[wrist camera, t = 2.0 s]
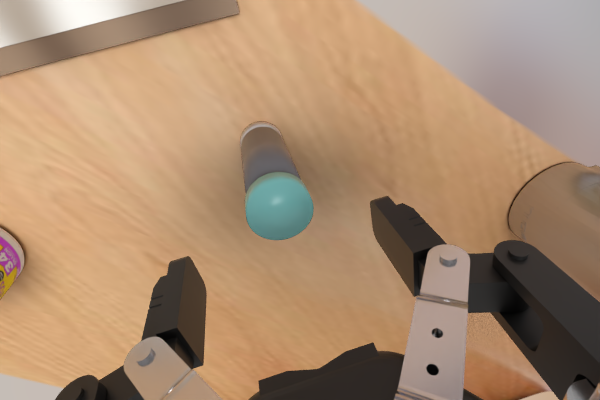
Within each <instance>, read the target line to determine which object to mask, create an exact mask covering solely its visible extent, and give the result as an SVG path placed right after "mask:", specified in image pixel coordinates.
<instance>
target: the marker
mask: <svg viewBox="0 0 600 400" xmlns="http://www.w3.org/2000/svg"><path fill="white" fill-rule="evenodd" d="M240 146H241V155H242V164H243V173H244V182H245V191H246V196H245V209H246V218H247V222H248V224H249V226H250V228H251V229H252V230H253V231H254V232H255V233H256V234H257V235H259V236H261V237H263V238H266V239H270V240H283V239H288V238H291V237H293V236H295V235H297V234H299V233H300V232H301V231H303V230H304V229H305V228H306V227H307V225H308V224H309V222H310V221H311V218H312V215H313V202H312V199H311V197H310V195H309V192H308V190H307V188H306V186H305V184H304V183H303V182H302V181H301V179H300V177H299V174H298V172H297V170H296V167H295V165H294V163H293V161H292V158H291V156H290V154H289V151H288V149H287V147H286V144H285V142H284V140H283V138H282V135H281V133H280V131H279V130H278V129H277V127H275V126H274V125H273V124H271V123H268V122H263V121H260V122H255V123H252V124H250V125H249V126H247V127H246V128H245V130H244V131H243V133H242V135H241V138H240Z"/></svg>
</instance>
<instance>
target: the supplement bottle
mask: <svg viewBox="0 0 600 400" xmlns="http://www.w3.org/2000/svg"><path fill="white" fill-rule="evenodd" d="M23 266H24V254H23V250H22V248H21V246H20V245H19V243H18V242H17V241H16V240H15V238H14V237H12V236H11V235H10V234H9V233H8V232H6V231H5V230H3V229H1V228H0V300H1V298H2V297H3V296H4V294H5V293H6V292H7V290H8V289H9V288H10V287H11V285H12V284H13V283H14V281H15V280H16V278H17V277H18V276H19V274H20V273H21V271H22V269H23Z"/></svg>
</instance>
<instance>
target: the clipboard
mask: <svg viewBox="0 0 600 400" xmlns="http://www.w3.org/2000/svg"><path fill="white" fill-rule="evenodd" d="M238 13H239V9H238V5H237V2H236V0H0V76H1V75H5V74H9V73H13V72H17V71H20V70H24V69H28V68H32V67H36V66H40V65H43V64H47V63H51V62H55V61H59V60H62V59H66V58H70V57H74V56H78V55H82V54H85V53H89V52H93V51H97V50H101V49H104V48H108V47H112V46H116V45H120V44H124V43H127V42H131V41H135V40H139V39H143V38H146V37H150V36H154V35H158V34H162V33H166V32H169V31H173V30H177V29H181V28H185V27H188V26H192V25H196V24H200V23H204V22H208V21H211V20H215V19H219V18H223V17H227V16H230V15H234V14H238Z"/></svg>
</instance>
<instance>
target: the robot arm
mask: <svg viewBox="0 0 600 400" xmlns="http://www.w3.org/2000/svg"><path fill="white" fill-rule="evenodd" d="M370 208H371V217H372V225H373V231H374V235H375V237H376V239H377V241H378V243H379V244H380V246H381V247H382V249H383V250H384V252H385V253H386V255H387V257H388V258H389V260H390V261H391V263H392V264H393V266H394V267H395V269H396V270H397V272H398V273H399V275H400V276H401V278H402V279H403V281H404V282H405V284H406V285H407V287H408V288H409V290H410V291H411V293H412V294H413V296H414V297H415V296H417V298H416V302H415V307H414V312H413V317H412V322H411V327H410V332H409V337H408V342H407V347H406V352H405V355H402V354H399V353H395V352H390V351H377V350H376V348H375V345H374V343H370V344H367V345H364V346H361V347H358V348H355V349H352V350H349V351H346V352H344V353H343V354H341V355H340V356H338V357H337V358H335V359H334V360H332V361H330V362H329V363H327V364H326V365H324V366H323V367H321V368H319V369H313V370H298V371H286V372H283V373H280V374H277V375H274V376H271V377H268V378H266V379H263V380H260V381H259V390H260V391H259V392H257V393H256V394H255V395H253V396H252V397H251V398H250V399H249V400H483V399H481V398H479V397H478V396H476V395H474V394H472V393H471V392H469V391H467V390H466V389H464V388H463V385H464V368H465V351H466V334H467V317H468V313H483V312H491V314H492V315H493V316H494V317H495V319H496V320H497V321H498V322H499V324H500V325H501V326H502V328H503V329H504V330H505V331H506V333H507V334H508V335H509V336H510V338H511V339H512V340H513V342H514V343H515V344H516V345H517V347H518V348H519V349H520V350H521V352H522V353H523V354H524V355H525V357H526V358H527V359H528V361H529V362H530V363H531V364H532V366H533V367H534V368H535V369H536V371H537V372H538V373H539V375H540V376H541V377H542V378H543V380H544V381H545V382H546V383H547V385H548V386H549V387H550V389H551V390H552V391H553V392H554V394H555V395H556V396H557V397H558V399H559V400H600V302H599V301H600V167H599V166H592V167H586V166H584V165H582V164H580V163H574V162H570V163H563V164H559V165H556V166H553V167H551V168H549V169H547V170H545V171H544V172H542V173H541V174H539V175H538V176H536V177H535V178H534V179H533V180H531V181H530V182H529V183H528V184H527V185H526V186H525V187H524V188H523V189H522V191H521V192H520V193H519V195H518V196H517V197H516V199H515V201H514V203H513V205H512V207H511V210H510V213H509V226H510V229H511V230H512V232H513V233H514V234H515V235H517V236H518V237H519V238H520V239H522V240H523V241H524V242H522V241H515V240H509V241H503V242H501V243H499V244H498V245H496V247H495V249H494V253H482V254H468V253H467V252H466V251H464V250H463V249H461V248H460V247H457V246H454V245H448V244H446V243H445V242H444V241H443V239H442V238H441V237H440V236H439V235H438V234H437V233H436V232H435V231H434V230H433V229H432V228H431V227H430V226H429V225H428V224H427V223H426V222H425V220H424V219H423V218H422V217H420V215H419V214H418V213H417V212H416V211H415V210H414V209H413V208H411V207H409V206H407V205H405V204H403V203H402V204H399V205H396V204H395V203H394V202H393V201H392V200H391V199H390V198H389V197H388V196H385V197H382V198H378V199H375V200H372V201H371V202H370ZM525 242H526V243H525ZM594 297H595V298H596V299H595V298H594ZM598 300H599V301H598ZM205 317H206V288H205V284H204V281H203V279H202V278H201V276H200V274H199V272H198V270H197V268H196V267H195V265H194V263H193V261H192V259H191V258H190V257H189V256H187V257H184V258H180V259H177V260H174V261H171V262H170V263H169V267H168V273H167V275H166V276H163V277H160V279H159V280H158V282H157V284H156V285H155V287H154V288H153V293H152V297H151V301H150V305H149V310H148V314H147V318H146V323H145V327H144V331H143V336H142V340H141V342H139V343H138V344H137V345H135V346H134V347H133V348H132V350H131V351H130V352H129V353H128V355H127V357H126V359H125V361H124V365H123V366H122V367H120V368H118V369H117V370H115V371H114V372H112V373H110V374H109V375H107V376H105V377H104V378H102V379H101V380H98V379H97V378H96V377H94V376H92V375H86V376H82V377H80V378H77V379H76V380H74V381H72V382H71V383H70V384H68V385H67V386H66V387H65V388H64V389H63V390H62V391H61V392H60V394H59V395H58V396H57V398H56V399H55V400H222V399H221V398H220V397H219V395H218V394H217V393H216V392H215V391H214V390H213V389H212V388H211V387H210V386H209V385H208V384H207V383H206V382H205V381H204V380H203V379H202V378H201V377H200V376H199V375H198V374H197V373H196V372H195V371H194V370H193V368H196V367H199V366H202V365H203V362H204V339H205Z"/></svg>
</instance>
